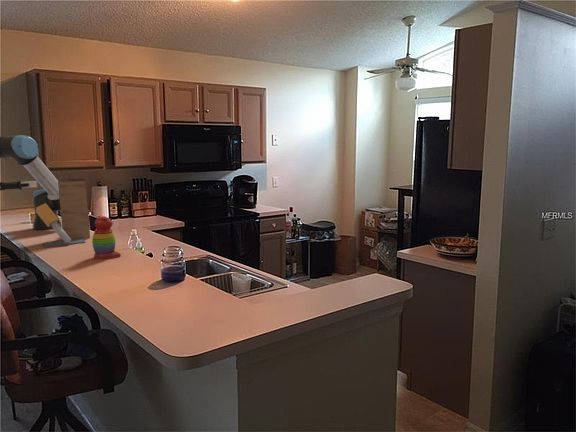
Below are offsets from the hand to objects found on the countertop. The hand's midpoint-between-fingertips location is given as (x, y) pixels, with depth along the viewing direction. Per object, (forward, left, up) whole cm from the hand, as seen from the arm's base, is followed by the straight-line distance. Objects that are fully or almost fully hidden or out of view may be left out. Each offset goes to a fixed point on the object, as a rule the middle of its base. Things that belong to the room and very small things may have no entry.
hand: (36, 184), depth 227 cm
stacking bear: (+42, +22, -30) cm, 56 cm away
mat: (0, +10, -30) cm, 32 cm away
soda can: (-22, +22, -30) cm, 43 cm away
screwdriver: (0, +8, -19) cm, 20 cm away
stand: (-10, +17, -30) cm, 36 cm away
